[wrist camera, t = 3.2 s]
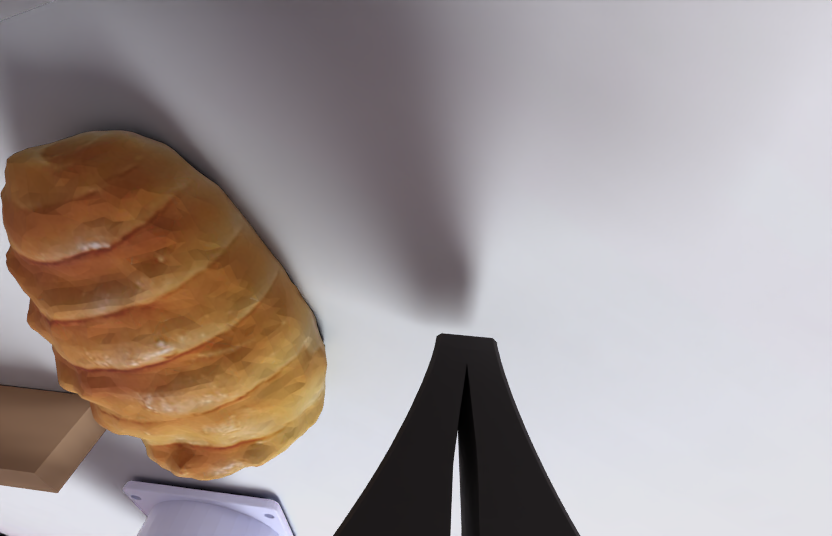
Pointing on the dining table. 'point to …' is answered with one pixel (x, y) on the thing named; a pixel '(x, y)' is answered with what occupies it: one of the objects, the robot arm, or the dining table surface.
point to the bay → (43, 437)
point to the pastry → (161, 303)
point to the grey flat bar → (18, 7)
